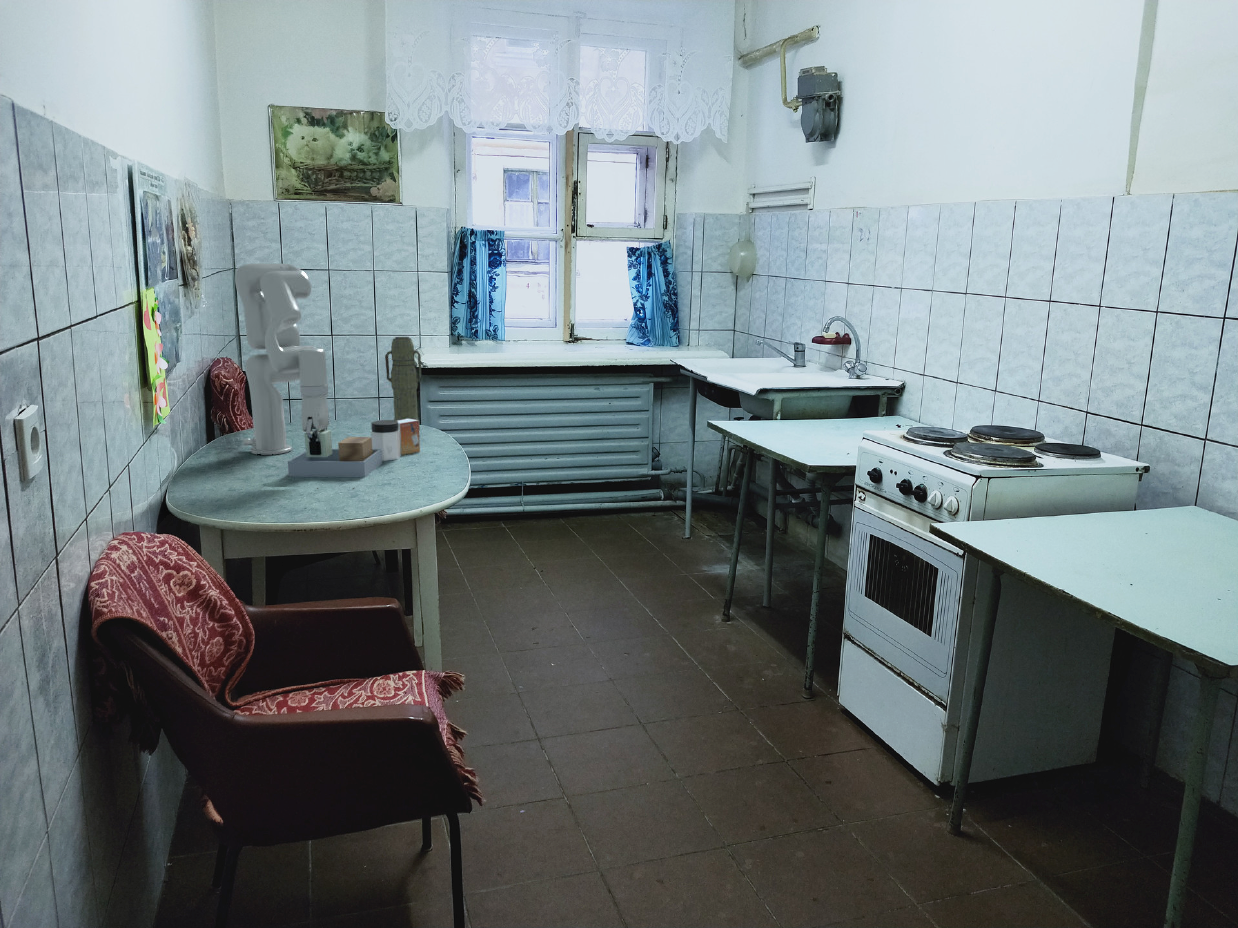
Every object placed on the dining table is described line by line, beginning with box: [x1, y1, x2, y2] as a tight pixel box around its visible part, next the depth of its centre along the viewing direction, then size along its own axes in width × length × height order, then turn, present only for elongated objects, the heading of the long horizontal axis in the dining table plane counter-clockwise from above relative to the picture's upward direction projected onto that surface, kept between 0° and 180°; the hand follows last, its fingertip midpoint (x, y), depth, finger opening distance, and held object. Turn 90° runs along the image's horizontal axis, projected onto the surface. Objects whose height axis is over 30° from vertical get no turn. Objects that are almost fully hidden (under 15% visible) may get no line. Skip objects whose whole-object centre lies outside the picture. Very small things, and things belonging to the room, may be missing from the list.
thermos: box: [384, 336, 422, 438], centre depth 315 cm, size 9×12×35 cm
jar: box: [370, 419, 402, 462], centre depth 282 cm, size 9×8×12 cm
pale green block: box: [304, 429, 333, 457], centre depth 266 cm, size 6×5×7 cm
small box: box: [398, 419, 421, 456], centre depth 293 cm, size 8×6×10 cm
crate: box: [287, 448, 383, 478], centre depth 267 cm, size 22×17×5 cm
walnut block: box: [337, 436, 373, 461], centre depth 266 cm, size 7×9×9 cm
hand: (319, 452), depth 266 cm, fingers closed on pale green block, 5 cm apart
